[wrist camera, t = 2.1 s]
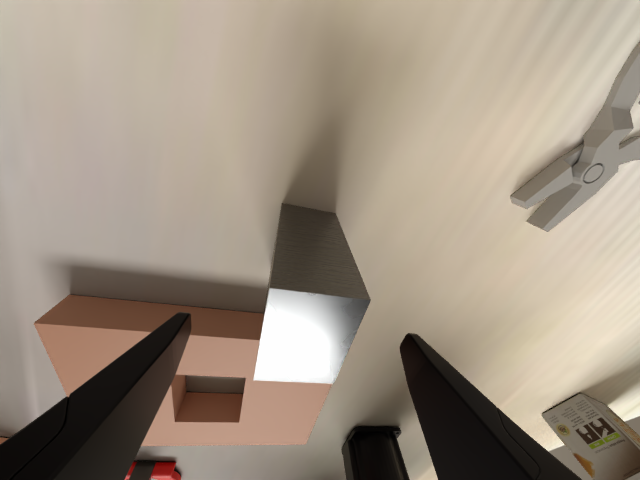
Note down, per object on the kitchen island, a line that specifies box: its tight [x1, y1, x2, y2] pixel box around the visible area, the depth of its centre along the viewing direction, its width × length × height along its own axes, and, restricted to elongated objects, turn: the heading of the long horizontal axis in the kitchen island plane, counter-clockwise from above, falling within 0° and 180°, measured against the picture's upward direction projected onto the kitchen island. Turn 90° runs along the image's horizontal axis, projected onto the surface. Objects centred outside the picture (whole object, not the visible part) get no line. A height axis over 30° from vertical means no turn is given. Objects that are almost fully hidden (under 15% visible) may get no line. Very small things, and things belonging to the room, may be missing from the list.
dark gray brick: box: [253, 203, 371, 384], centre depth 12 cm, size 4×5×8 cm
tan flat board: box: [34, 295, 332, 446], centre depth 20 cm, size 20×16×2 cm
